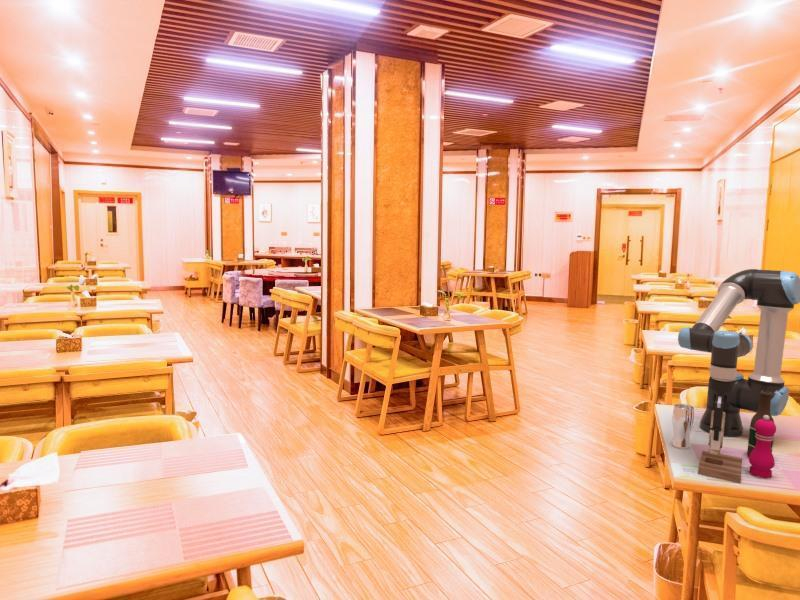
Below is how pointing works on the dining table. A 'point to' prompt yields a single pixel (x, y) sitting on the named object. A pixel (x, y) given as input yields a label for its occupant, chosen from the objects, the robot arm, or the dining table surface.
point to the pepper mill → (763, 449)
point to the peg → (717, 452)
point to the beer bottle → (762, 410)
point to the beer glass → (682, 425)
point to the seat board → (720, 466)
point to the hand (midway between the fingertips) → (715, 446)
